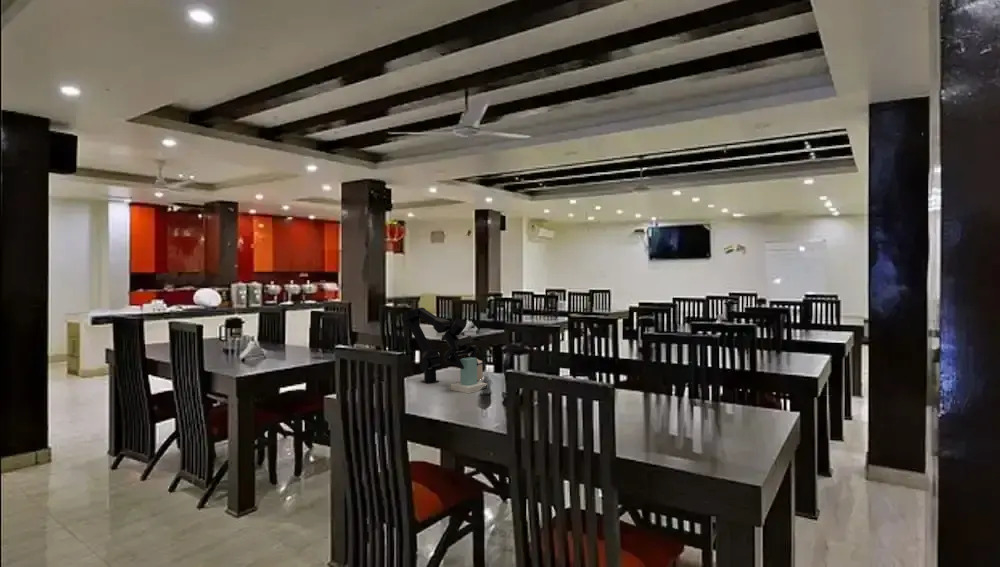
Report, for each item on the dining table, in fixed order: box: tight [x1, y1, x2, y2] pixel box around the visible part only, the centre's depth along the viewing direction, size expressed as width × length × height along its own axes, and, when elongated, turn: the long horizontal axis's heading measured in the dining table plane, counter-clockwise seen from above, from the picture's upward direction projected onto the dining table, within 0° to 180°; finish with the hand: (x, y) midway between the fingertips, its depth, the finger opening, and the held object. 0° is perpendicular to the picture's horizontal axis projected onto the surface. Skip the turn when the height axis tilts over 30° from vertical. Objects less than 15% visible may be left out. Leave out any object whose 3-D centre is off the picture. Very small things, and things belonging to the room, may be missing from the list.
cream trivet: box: [450, 381, 488, 394], centre depth 278 cm, size 12×12×2 cm
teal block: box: [459, 356, 478, 386], centre depth 278 cm, size 5×6×12 cm
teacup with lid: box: [477, 358, 484, 382], centre depth 301 cm, size 12×9×12 cm
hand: (470, 367), depth 277 cm, fingers open, 9 cm apart
